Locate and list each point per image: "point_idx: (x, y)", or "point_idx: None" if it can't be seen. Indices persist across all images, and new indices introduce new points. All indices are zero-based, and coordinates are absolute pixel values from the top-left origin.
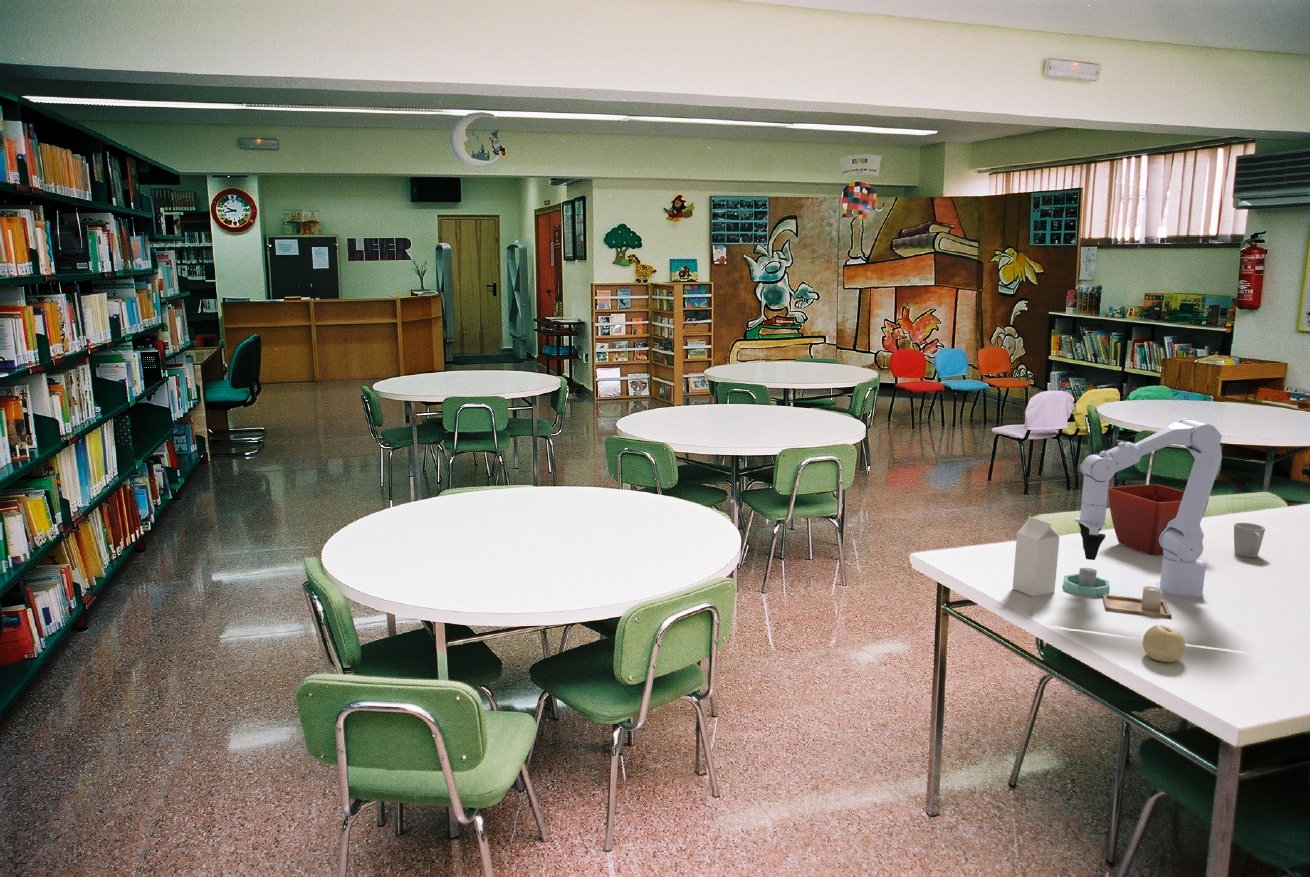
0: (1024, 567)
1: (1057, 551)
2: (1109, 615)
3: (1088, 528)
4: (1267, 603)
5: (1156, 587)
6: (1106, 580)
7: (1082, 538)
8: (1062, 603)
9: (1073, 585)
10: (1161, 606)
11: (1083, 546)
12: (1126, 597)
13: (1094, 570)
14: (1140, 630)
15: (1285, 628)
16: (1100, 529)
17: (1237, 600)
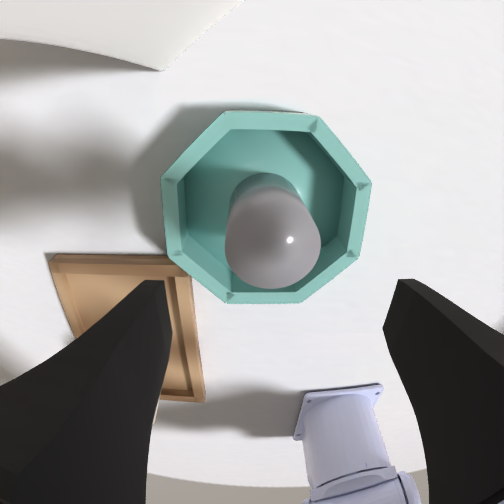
0: None
1: (31, 38)
2: (40, 262)
3: (486, 449)
4: (297, 474)
5: (152, 424)
6: (305, 297)
7: (466, 325)
8: (64, 115)
9: (182, 153)
10: (178, 387)
11: (414, 292)
12: (185, 331)
13: (282, 279)
14: (3, 313)
15: (183, 474)
16: (429, 495)
17: (301, 459)
